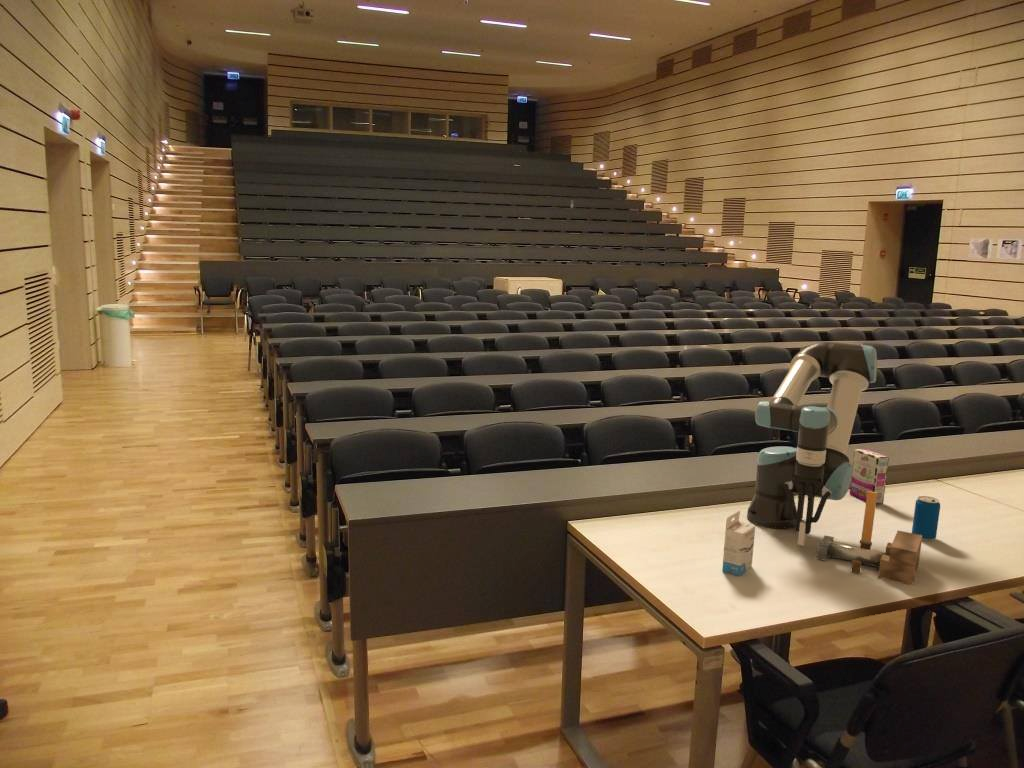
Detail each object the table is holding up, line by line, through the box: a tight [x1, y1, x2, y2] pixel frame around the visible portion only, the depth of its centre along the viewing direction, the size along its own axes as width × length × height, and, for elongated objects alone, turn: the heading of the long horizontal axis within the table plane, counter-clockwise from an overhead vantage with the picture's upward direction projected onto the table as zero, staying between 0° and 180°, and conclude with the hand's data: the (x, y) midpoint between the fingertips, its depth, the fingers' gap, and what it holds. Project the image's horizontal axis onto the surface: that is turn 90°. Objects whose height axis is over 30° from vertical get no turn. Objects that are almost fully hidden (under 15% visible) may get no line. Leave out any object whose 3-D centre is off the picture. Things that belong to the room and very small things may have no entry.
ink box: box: [721, 510, 756, 577], centre depth 204 cm, size 9×5×15 cm, turn 141°
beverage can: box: [911, 495, 941, 542], centre depth 230 cm, size 6×6×12 cm
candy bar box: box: [849, 448, 890, 505], centre depth 264 cm, size 11×5×16 cm, turn 17°
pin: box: [816, 535, 890, 568], centre depth 212 cm, size 18×9×4 cm, turn 57°
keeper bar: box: [859, 491, 877, 547], centre depth 216 cm, size 3×15×1 cm
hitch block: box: [850, 530, 923, 586], centre depth 208 cm, size 15×16×9 cm
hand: (801, 543), depth 219 cm, fingers closed
